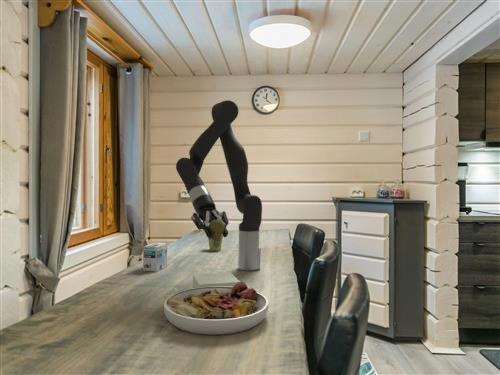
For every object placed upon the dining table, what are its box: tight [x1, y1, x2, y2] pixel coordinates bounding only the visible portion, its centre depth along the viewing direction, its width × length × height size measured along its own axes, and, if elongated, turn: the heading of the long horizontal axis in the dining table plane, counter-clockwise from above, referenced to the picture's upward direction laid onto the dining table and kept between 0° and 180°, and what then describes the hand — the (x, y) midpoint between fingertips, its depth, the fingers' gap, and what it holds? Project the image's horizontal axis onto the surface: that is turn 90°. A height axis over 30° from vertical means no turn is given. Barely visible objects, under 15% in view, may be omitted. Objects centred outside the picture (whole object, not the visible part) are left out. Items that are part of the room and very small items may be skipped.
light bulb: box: [208, 219, 224, 248], centre depth 131 cm, size 6×6×10 cm
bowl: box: [163, 281, 269, 336], centre depth 108 cm, size 30×30×8 cm
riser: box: [192, 271, 241, 288], centre depth 131 cm, size 14×14×5 cm
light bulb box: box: [142, 242, 168, 273], centre depth 163 cm, size 11×7×11 cm, turn 168°
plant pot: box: [207, 234, 224, 252], centre depth 208 cm, size 9×9×9 cm
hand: (218, 236), depth 129 cm, fingers closed on light bulb, 5 cm apart
